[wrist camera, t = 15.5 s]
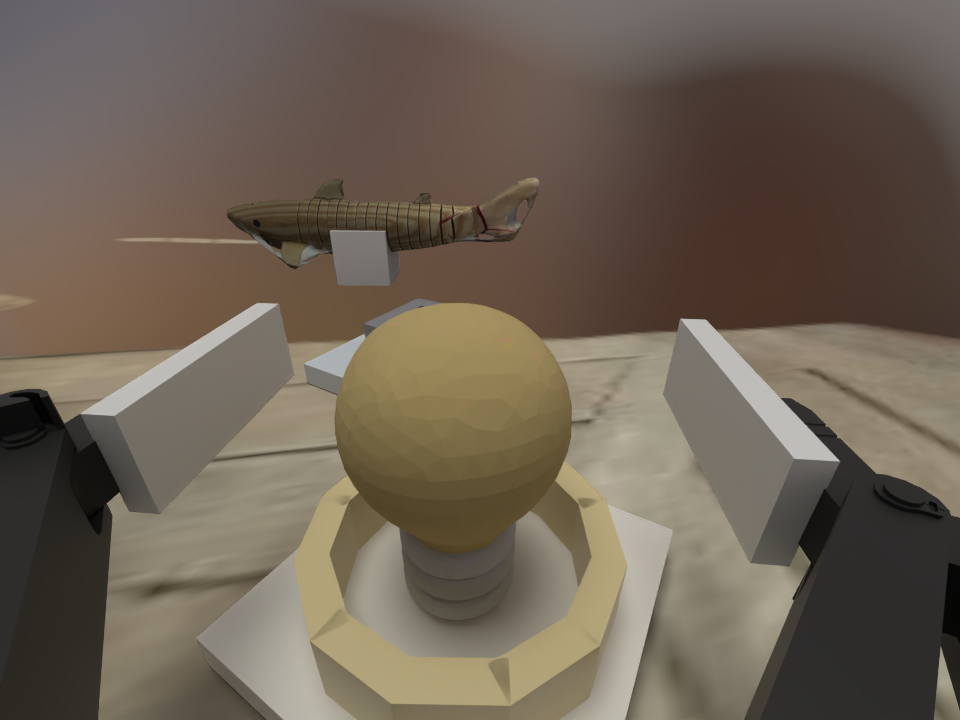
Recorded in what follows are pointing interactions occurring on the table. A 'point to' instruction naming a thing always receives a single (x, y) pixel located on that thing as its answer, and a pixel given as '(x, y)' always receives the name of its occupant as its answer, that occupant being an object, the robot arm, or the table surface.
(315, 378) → the square socket
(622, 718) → the round socket
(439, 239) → the wood carving
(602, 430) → the table surface
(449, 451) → the light bulb
